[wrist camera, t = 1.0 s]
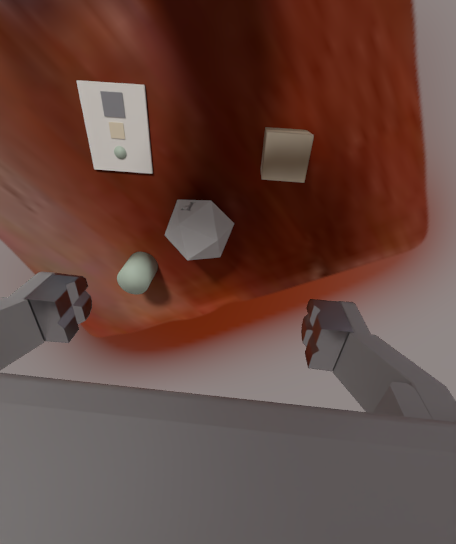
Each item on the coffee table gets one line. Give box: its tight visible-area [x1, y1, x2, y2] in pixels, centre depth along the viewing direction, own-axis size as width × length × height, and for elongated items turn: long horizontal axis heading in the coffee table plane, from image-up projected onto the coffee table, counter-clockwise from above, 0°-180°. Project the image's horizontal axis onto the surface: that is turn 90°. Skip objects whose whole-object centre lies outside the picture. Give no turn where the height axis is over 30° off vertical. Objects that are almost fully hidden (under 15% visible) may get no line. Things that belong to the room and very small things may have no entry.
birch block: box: [260, 127, 314, 183], centre depth 33 cm, size 5×5×5 cm
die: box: [165, 200, 234, 260], centre depth 38 cm, size 8×9×10 cm
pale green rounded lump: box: [117, 252, 158, 294], centre depth 44 cm, size 5×5×5 cm
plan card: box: [76, 80, 153, 174], centre depth 35 cm, size 10×8×1 cm
